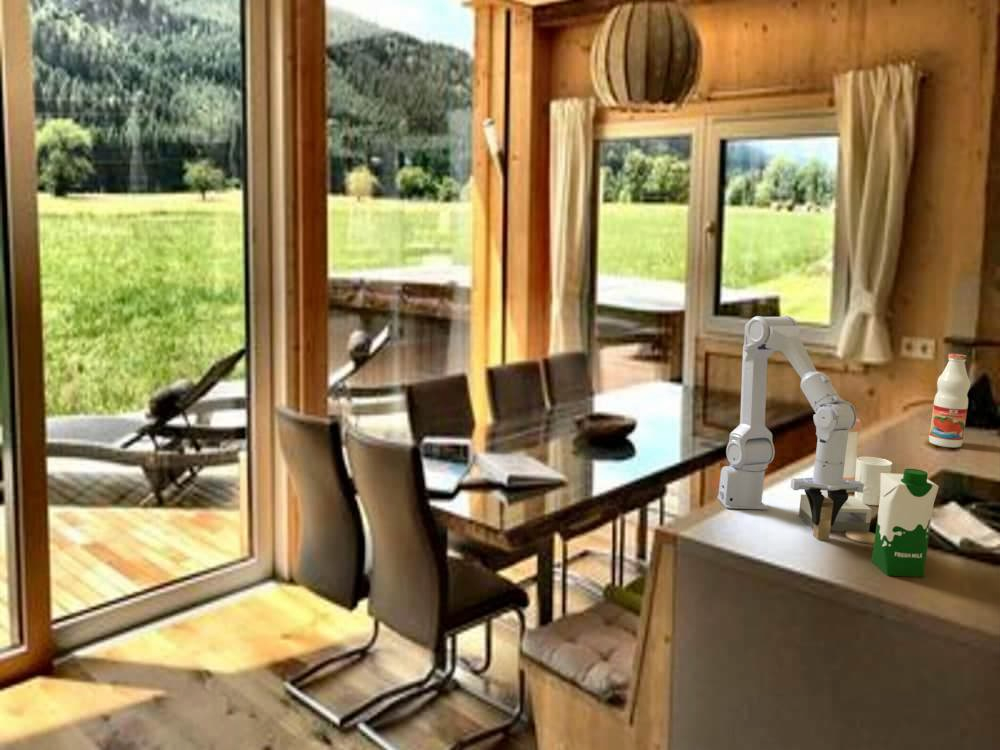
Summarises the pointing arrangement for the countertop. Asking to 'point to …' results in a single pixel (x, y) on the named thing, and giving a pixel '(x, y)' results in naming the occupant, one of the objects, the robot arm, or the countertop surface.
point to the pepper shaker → (851, 452)
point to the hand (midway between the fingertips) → (822, 523)
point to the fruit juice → (950, 404)
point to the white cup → (870, 478)
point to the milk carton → (904, 523)
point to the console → (842, 515)
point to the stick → (824, 520)
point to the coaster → (861, 536)
